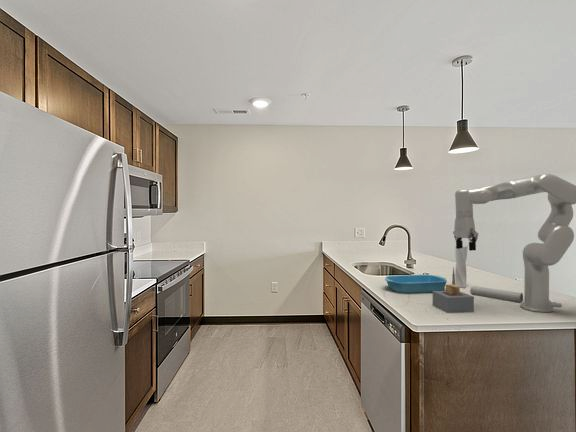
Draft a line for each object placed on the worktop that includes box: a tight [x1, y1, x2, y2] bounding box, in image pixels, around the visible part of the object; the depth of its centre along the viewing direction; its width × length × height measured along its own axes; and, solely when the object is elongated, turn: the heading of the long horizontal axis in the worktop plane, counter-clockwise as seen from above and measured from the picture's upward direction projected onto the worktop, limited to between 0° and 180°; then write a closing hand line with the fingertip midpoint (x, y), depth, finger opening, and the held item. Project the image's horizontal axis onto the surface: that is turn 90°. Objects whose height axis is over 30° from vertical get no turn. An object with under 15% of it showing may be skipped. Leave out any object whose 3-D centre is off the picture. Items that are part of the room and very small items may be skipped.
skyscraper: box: [451, 241, 469, 289], centre depth 210 cm, size 8×8×28 cm
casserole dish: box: [384, 274, 448, 294], centre depth 203 cm, size 37×22×7 cm, turn 96°
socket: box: [432, 290, 475, 314], centre depth 163 cm, size 13×13×7 cm
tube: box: [469, 285, 524, 304], centre depth 182 cm, size 5×5×25 cm
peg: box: [445, 284, 461, 296], centre depth 163 cm, size 4×4×10 cm
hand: (465, 249), depth 166 cm, fingers open, 9 cm apart
